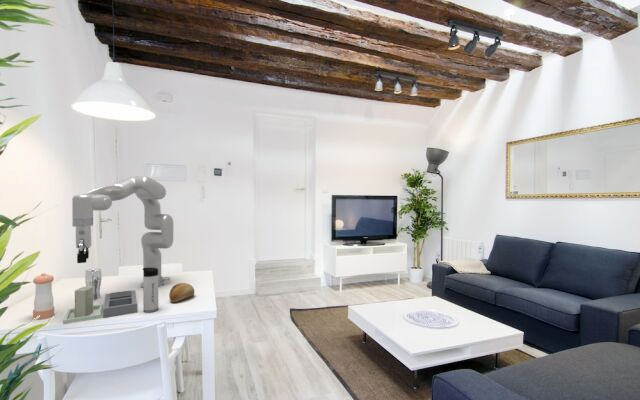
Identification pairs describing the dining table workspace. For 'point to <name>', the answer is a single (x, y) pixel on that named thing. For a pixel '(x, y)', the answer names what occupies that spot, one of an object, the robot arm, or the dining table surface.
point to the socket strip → (120, 303)
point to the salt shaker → (43, 297)
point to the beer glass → (94, 281)
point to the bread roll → (181, 292)
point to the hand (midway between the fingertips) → (83, 260)
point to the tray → (82, 317)
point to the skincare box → (83, 301)
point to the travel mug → (150, 289)
